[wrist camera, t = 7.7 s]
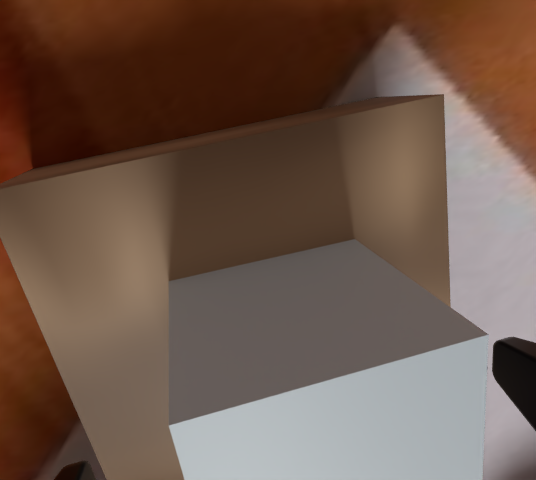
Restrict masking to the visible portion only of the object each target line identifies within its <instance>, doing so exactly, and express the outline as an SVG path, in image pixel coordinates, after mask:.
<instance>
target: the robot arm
mask: <svg viewBox="0 0 536 480" xmlns="http://www.w3.org/2000/svg"><path fill="white" fill-rule="evenodd" d="M492 372H493V375H494V378H495V380H496V381H497V383H498V384H499V385H500V387H501V388H502V389H503V390H504V392H505V393H506V394H507V395H508V397H509V398H510V399H511V400H512V402H513V403H514V404H515V406H516V407H517V408H518V409H519V411H520V412H521V413H522V414H523V416H524V417H525V418H526V419H527V421H528V422H529V423H530V425H531V426H532V427H533V428H534V430H535V431H536V343H534V342H531V341H527V340H523V339H520V338H516V337H508V338H504V339H501V340H498V341H496V342H495V343H494V345H493V363H492ZM54 480H96V478H95V476H94V473H93V471H92V468H91V466H90V464H89V463H88V461H80V462H77V463H73V464H70V465H67V466H65V467H64V468H63V469H62V470H61V471H60V472H59V474H58V475H57V476H56V477H55V479H54Z"/></svg>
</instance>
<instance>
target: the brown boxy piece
mask: <svg viewBox="0 0 536 480" xmlns="http://www.w3.org/2000/svg"><path fill="white" fill-rule="evenodd" d="M0 238H1V240H2V242H3V244H4V247H5V249H6V251H7V254H8V256H9V258H10V260H11V263H12V265H13V267H14V270H15V272H16V274H17V276H18V279H19V281H20V283H21V286H22V288H23V290H24V292H25V295H26V297H27V299H28V302H29V304H30V306H31V308H32V311H33V313H34V315H35V318H36V320H37V322H38V324H39V327H40V329H41V331H42V334H43V336H44V338H45V340H46V343H47V345H48V347H49V350H50V352H51V354H52V356H53V359H54V361H55V363H56V366H57V368H58V370H59V372H60V375H61V377H62V379H63V382H64V384H65V386H66V388H67V391H68V393H69V395H70V397H71V400H72V402H73V404H74V407H75V409H76V411H77V413H78V416H79V418H80V420H81V423H82V425H83V427H84V429H85V432H86V434H87V436H88V439H89V441H90V443H91V445H92V448H93V450H94V452H95V455H96V457H97V459H98V461H99V464H100V466H101V468H102V471H103V473H104V475H105V477H106V480H184V476H183V473H182V469H181V466H180V462H179V459H178V456H177V452H176V449H175V445H174V442H173V439H172V435H171V432H170V428H169V281H172V280H176V279H181V278H185V277H190V276H194V275H199V274H203V273H207V272H212V271H216V270H221V269H225V268H229V267H234V266H238V265H243V264H247V263H251V262H256V261H260V260H265V259H269V258H274V257H278V256H282V255H287V254H291V253H296V252H300V251H304V250H309V249H313V248H318V247H322V246H327V245H331V244H335V243H340V242H344V241H349V240H353V239H355V240H357V241H358V242H360V243H361V244H362V245H364V246H365V247H367V248H368V249H369V250H371V251H372V252H374V253H375V254H376V255H378V256H379V257H381V258H382V259H383V260H385V261H386V262H388V263H389V264H390V265H392V266H393V267H395V268H396V269H397V270H399V271H400V272H402V273H403V274H404V275H406V276H407V277H409V278H410V279H411V280H413V281H414V282H416V283H417V284H418V285H420V286H421V287H423V288H424V289H425V290H427V291H428V292H430V293H431V294H432V295H434V296H435V297H437V298H438V299H439V300H441V301H442V302H444V303H445V304H446V305H448V306H449V307H450V278H449V246H448V214H447V182H446V150H445V118H444V94H442V95H418V96H394V97H376V98H371V99H366V100H362V101H357V102H352V103H347V104H342V105H337V106H333V107H328V108H323V109H318V110H313V111H309V112H304V113H299V114H294V115H289V116H285V117H280V118H275V119H270V120H265V121H261V122H256V123H251V124H246V125H241V126H237V127H232V128H227V129H222V130H217V131H213V132H208V133H203V134H198V135H193V136H189V137H184V138H179V139H174V140H169V141H165V142H160V143H155V144H150V145H145V146H141V147H136V148H131V149H126V150H121V151H117V152H112V153H107V154H102V155H97V156H93V157H88V158H83V159H78V160H73V161H69V162H64V163H59V164H54V165H49V166H45V167H40V168H35V169H32V170H29V171H27V172H25V173H23V174H21V175H19V176H16V177H14V178H12V179H10V180H8V181H6V182H3V183H1V184H0Z"/></svg>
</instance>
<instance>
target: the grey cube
mask: <svg viewBox="0 0 536 480" xmlns="http://www.w3.org/2000/svg"><path fill="white" fill-rule="evenodd" d="M488 336H489V335H488V334H487V333H486V332H484V331H483V330H481V329H480V328H479V327H477V326H476V325H474V324H473V323H472V322H470V321H469V320H467V319H466V318H465V317H463V316H462V315H460V314H459V313H458V312H456V311H455V310H453V309H452V308H451V307H449V306H448V305H446V304H445V303H444V302H442V301H441V300H439V299H438V298H437V297H435V296H434V295H432V294H431V293H430V292H428V291H427V290H425V289H424V288H423V287H421V286H420V285H418V284H417V283H416V282H414V281H413V280H411V279H410V278H409V277H407V276H406V275H404V274H403V273H402V272H400V271H399V270H397V269H396V268H395V267H393V266H392V265H390V264H389V263H388V262H386V261H385V260H383V259H382V258H381V257H379V256H378V255H376V254H375V253H374V252H372V251H371V250H369V249H368V248H367V247H365V246H364V245H362V244H361V243H360V242H358V241H357V240H355V239H353V240H349V241H344V242H340V243H335V244H331V245H327V246H322V247H318V248H313V249H309V250H304V251H300V252H296V253H291V254H287V255H282V256H278V257H274V258H269V259H265V260H260V261H256V262H251V263H247V264H243V265H238V266H234V267H229V268H225V269H221V270H216V271H212V272H207V273H203V274H199V275H194V276H190V277H185V278H181V279H176V280H172V281H169V428H170V432H171V435H172V439H173V442H174V445H175V449H176V452H177V456H178V459H179V462H180V466H181V469H182V473H183V476H184V480H482V479H483V455H484V431H485V407H486V384H487V360H488Z"/></svg>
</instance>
